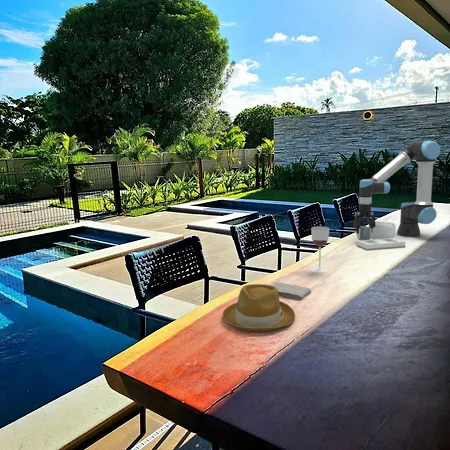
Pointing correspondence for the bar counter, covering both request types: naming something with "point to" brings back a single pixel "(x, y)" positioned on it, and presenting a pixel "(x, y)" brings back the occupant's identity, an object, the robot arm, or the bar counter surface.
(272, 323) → the fedora
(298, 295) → the washcloth
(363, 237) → the plug
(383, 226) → the cable organizer
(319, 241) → the wineglass
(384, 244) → the socket plate
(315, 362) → the bar counter surface
